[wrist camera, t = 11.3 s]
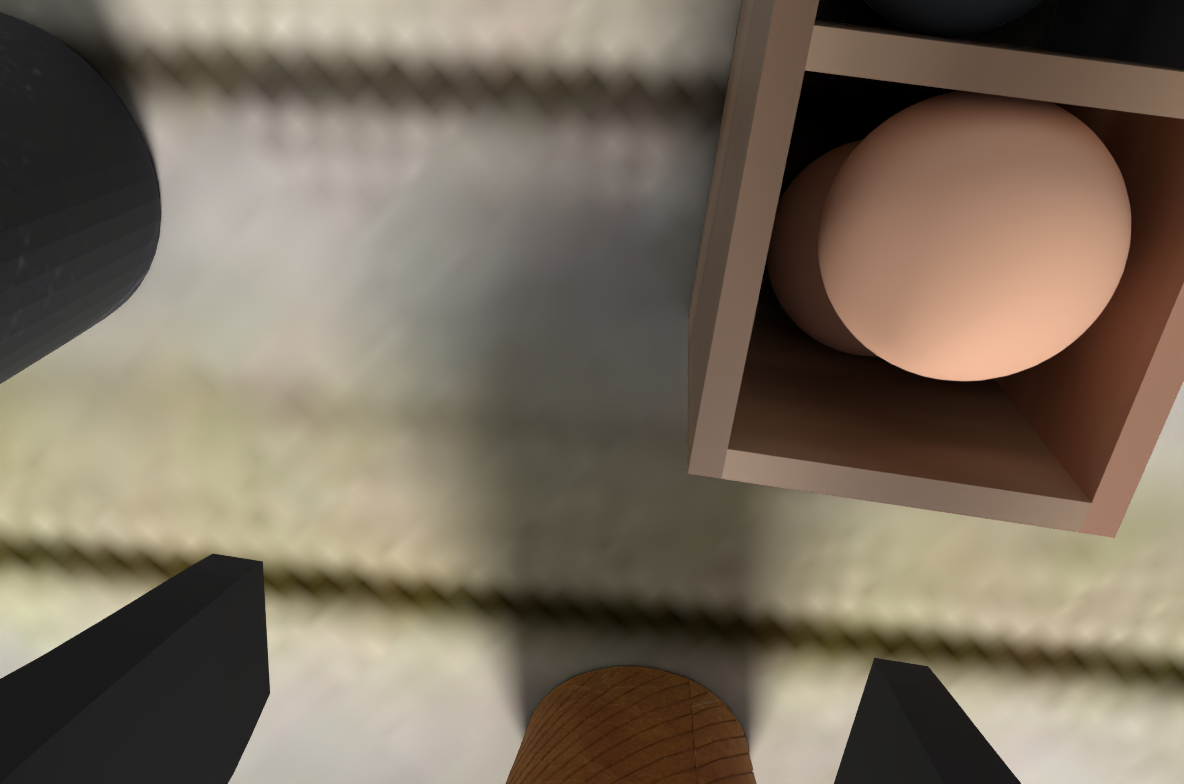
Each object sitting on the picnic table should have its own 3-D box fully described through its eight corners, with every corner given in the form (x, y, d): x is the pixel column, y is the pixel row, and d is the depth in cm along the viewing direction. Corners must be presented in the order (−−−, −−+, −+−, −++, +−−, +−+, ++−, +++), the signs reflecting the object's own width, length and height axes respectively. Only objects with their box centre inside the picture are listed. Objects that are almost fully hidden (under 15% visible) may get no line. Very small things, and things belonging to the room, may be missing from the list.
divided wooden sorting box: (1193, -329, 14) (1610, -596, 8) (972, 356, 19) (1114, 537, 13) (804, -370, 14) (897, -663, 8) (688, 316, 19) (687, 473, 13)
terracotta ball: (1011, 223, 15) (1177, 47, 11) (1036, 440, 13) (1238, 314, 10) (784, 189, 15) (879, -2, 11) (780, 404, 13) (891, 262, 10)
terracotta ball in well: (1002, 115, 16) (1061, 225, 13) (929, 289, 19) (965, 414, 16) (788, 87, 17) (799, 191, 14) (746, 265, 19) (748, 384, 16)
